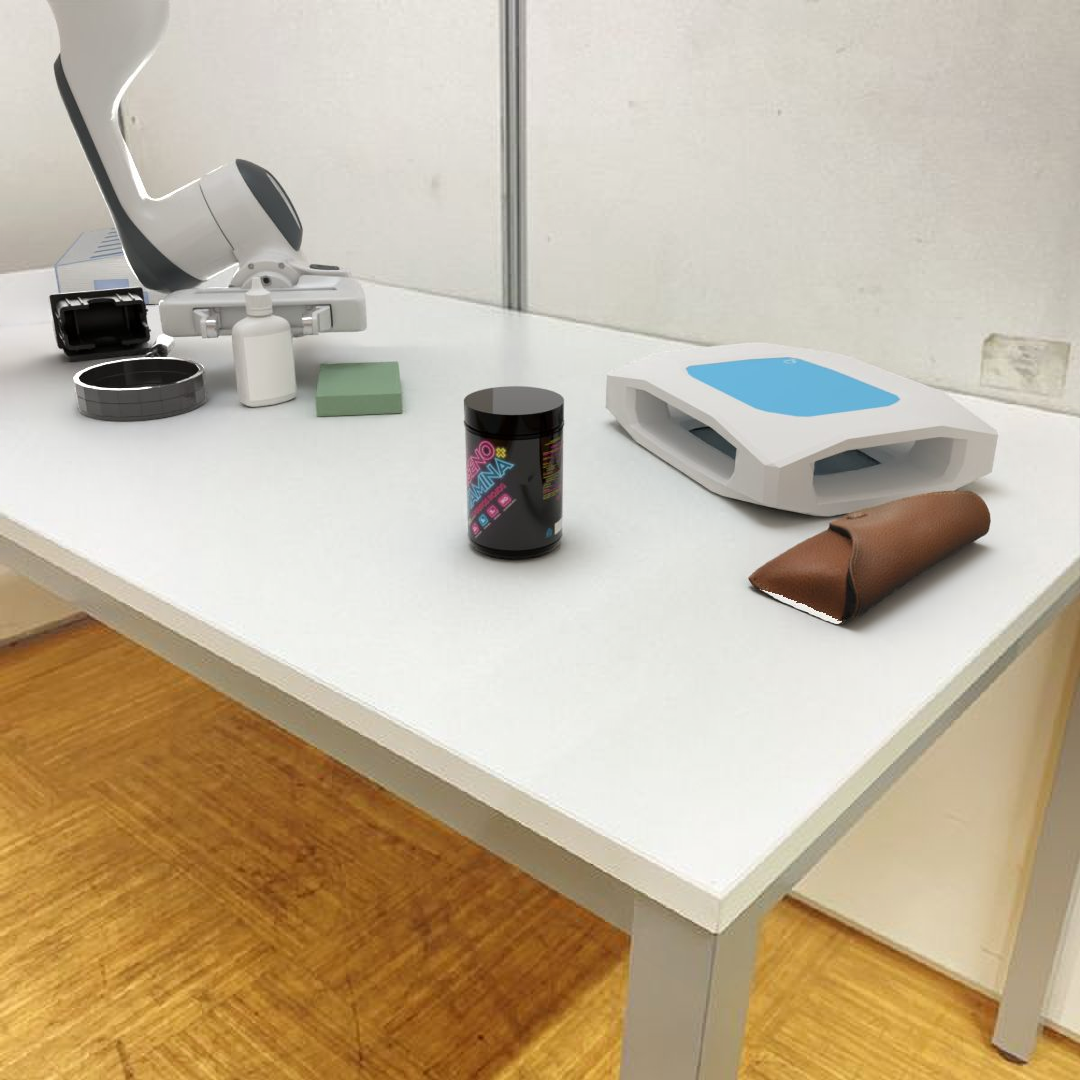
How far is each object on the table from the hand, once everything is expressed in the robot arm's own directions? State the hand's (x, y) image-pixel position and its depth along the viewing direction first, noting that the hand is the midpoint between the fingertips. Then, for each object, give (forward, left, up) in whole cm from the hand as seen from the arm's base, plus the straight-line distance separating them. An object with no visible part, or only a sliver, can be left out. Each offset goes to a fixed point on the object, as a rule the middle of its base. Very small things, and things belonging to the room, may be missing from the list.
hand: (259, 328), depth 108 cm
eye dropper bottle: (0, +1, -8) cm, 8 cm away
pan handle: (-12, +13, -6) cm, 19 cm away
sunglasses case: (+43, -44, -8) cm, 62 cm away
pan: (-12, +2, -7) cm, 14 cm away
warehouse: (-25, +64, -8) cm, 69 cm away
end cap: (-20, +24, -8) cm, 32 cm away
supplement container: (+20, -37, -8) cm, 43 cm away
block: (+9, +1, -7) cm, 12 cm away
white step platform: (+45, -21, -8) cm, 50 cm away
